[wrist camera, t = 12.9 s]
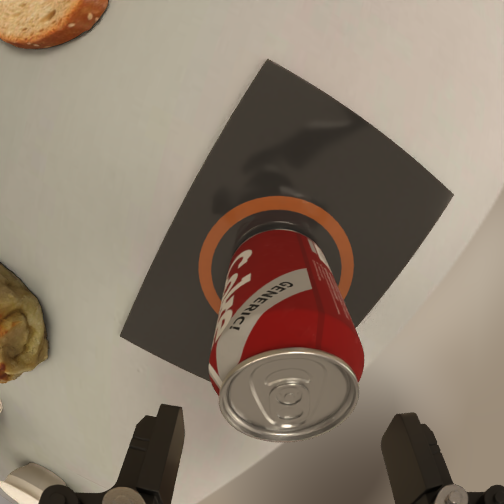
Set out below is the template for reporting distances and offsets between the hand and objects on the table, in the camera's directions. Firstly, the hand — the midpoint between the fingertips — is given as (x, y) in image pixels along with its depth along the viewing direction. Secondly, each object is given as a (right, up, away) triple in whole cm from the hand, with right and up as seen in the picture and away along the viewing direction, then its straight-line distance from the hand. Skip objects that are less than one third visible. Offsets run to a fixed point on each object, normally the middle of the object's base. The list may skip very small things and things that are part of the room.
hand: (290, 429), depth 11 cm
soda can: (0, +5, +12) cm, 13 cm away
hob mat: (0, +5, +13) cm, 14 cm away
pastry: (-26, +1, +15) cm, 30 cm away
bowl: (-41, -37, +31) cm, 64 cm away
